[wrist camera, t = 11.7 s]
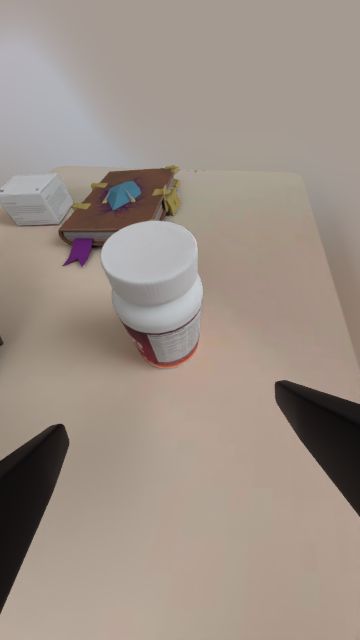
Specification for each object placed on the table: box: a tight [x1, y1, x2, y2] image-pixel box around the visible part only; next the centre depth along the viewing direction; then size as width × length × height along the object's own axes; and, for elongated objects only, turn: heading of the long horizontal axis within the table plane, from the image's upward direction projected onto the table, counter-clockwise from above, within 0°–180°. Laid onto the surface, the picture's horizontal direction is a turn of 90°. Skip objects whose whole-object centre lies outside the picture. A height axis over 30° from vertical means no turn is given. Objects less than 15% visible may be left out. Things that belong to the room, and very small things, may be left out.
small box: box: [0, 172, 73, 226], centre depth 32 cm, size 8×8×5 cm
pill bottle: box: [100, 221, 203, 369], centre depth 14 cm, size 6×6×11 cm
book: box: [59, 166, 181, 266], centre depth 30 cm, size 16×25×5 cm, turn 170°
